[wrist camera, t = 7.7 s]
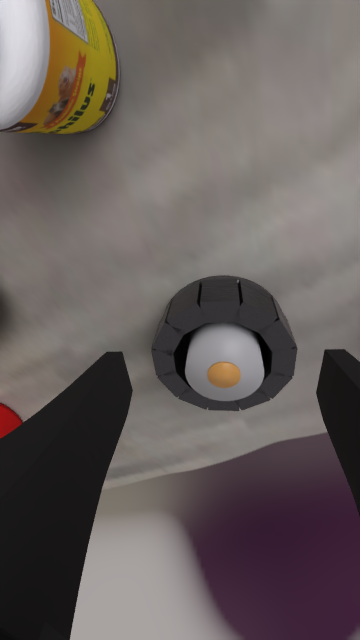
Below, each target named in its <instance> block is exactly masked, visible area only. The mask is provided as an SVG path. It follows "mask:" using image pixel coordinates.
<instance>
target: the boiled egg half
mask: <svg viewBox="0 0 360 640" xmlns="http://www.w3.org/2000/svg"><path fill="white" fill-rule="evenodd" d="M185 375H186V379H187V381H188V383H189V385H190V386H191V387H192V388H193V389H194V390H195V391H196V392H197V393H199V394H201V395H202V396H204V397H207V398H209V399H213V400H218V401H234V400H239V399H242V398H245V397H247V396H249V395H251V394H252V393H253V392H255V391H256V390H257V389H258V388H259V386H260V385H261V383H262V381H263V378H264V367H263V361H262V356H261V351H260V345H259V340H258V335H257V332H256V331H253V330H251V329H249V328H247V327H245V326H242V325H240V324H238V323H236V322H220V323H205V324H203V325H201V326H199V327H197V328H196V329H194V330H192V331H191V334H190V341H189V348H188V354H187V361H186V367H185Z"/></svg>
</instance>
